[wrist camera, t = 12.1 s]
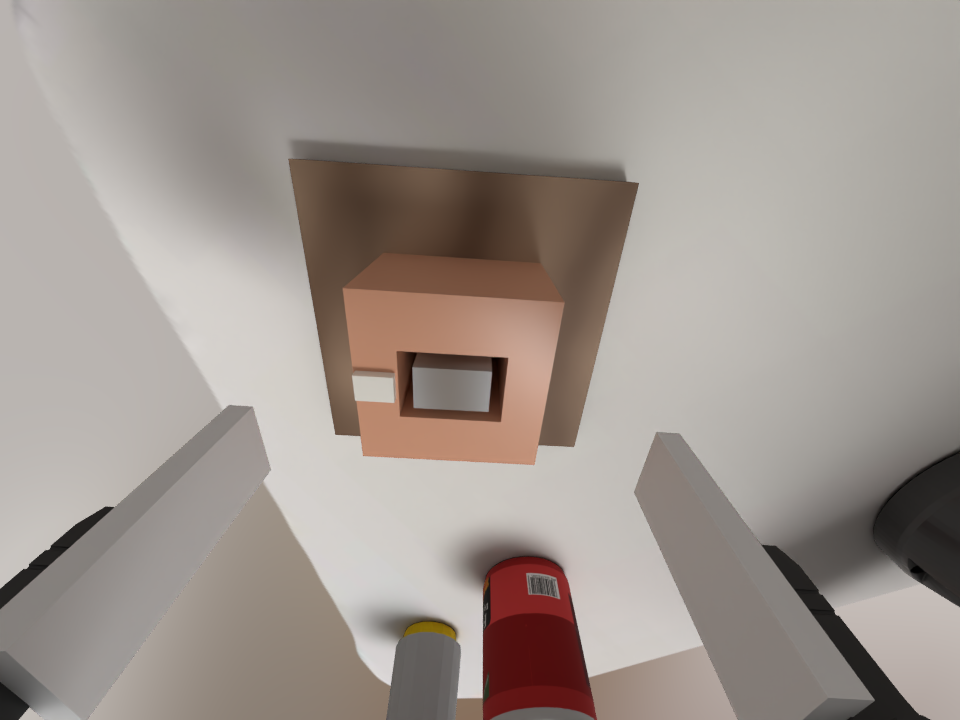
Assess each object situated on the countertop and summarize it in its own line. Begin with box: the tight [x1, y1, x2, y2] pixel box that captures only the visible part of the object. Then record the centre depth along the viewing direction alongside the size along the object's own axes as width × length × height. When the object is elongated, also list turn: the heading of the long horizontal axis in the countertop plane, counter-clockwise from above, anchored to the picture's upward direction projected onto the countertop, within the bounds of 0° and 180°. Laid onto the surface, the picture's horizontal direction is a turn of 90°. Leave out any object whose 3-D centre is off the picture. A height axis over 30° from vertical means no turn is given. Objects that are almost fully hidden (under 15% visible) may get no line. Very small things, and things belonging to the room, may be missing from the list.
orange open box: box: [343, 253, 565, 465], centre depth 17 cm, size 8×8×6 cm
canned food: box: [483, 557, 597, 720], centre depth 29 cm, size 8×8×11 cm
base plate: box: [288, 159, 639, 447], centre depth 18 cm, size 16×16×8 cm
